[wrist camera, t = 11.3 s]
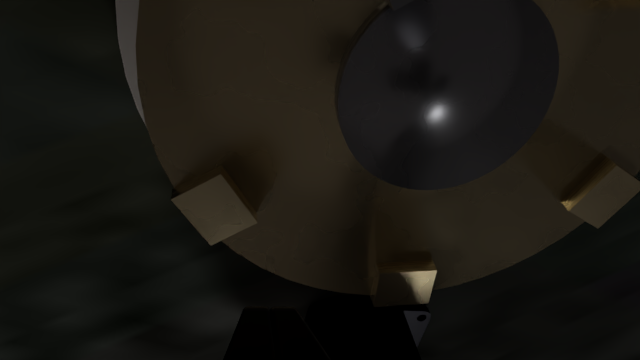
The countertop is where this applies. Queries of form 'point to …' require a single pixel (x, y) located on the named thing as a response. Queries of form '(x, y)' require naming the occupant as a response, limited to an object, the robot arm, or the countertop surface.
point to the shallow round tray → (392, 131)
